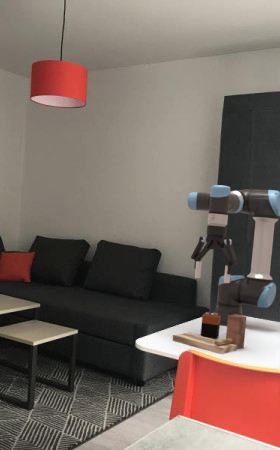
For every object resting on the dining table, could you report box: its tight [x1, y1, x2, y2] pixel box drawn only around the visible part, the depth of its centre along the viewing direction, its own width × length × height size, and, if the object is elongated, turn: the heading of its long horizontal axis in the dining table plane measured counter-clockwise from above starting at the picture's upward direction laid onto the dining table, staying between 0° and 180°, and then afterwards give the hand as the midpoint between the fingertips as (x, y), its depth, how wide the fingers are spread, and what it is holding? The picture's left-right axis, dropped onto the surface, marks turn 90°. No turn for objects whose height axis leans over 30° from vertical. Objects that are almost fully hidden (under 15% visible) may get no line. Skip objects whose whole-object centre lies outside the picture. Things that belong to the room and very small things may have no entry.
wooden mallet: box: [215, 314, 247, 351], centre depth 190 cm, size 16×4×12 cm, turn 139°
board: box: [172, 332, 237, 355], centre depth 192 cm, size 10×22×2 cm, turn 49°
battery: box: [200, 311, 221, 340], centre depth 209 cm, size 4×7×10 cm, turn 68°
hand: (211, 280), depth 197 cm, fingers open, 13 cm apart
